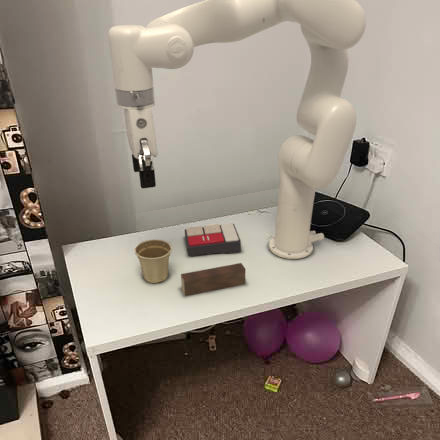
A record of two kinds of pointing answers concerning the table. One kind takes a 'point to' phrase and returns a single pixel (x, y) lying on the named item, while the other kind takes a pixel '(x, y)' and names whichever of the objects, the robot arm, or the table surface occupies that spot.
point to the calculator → (212, 239)
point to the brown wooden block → (213, 279)
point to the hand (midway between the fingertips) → (144, 178)
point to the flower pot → (154, 259)
